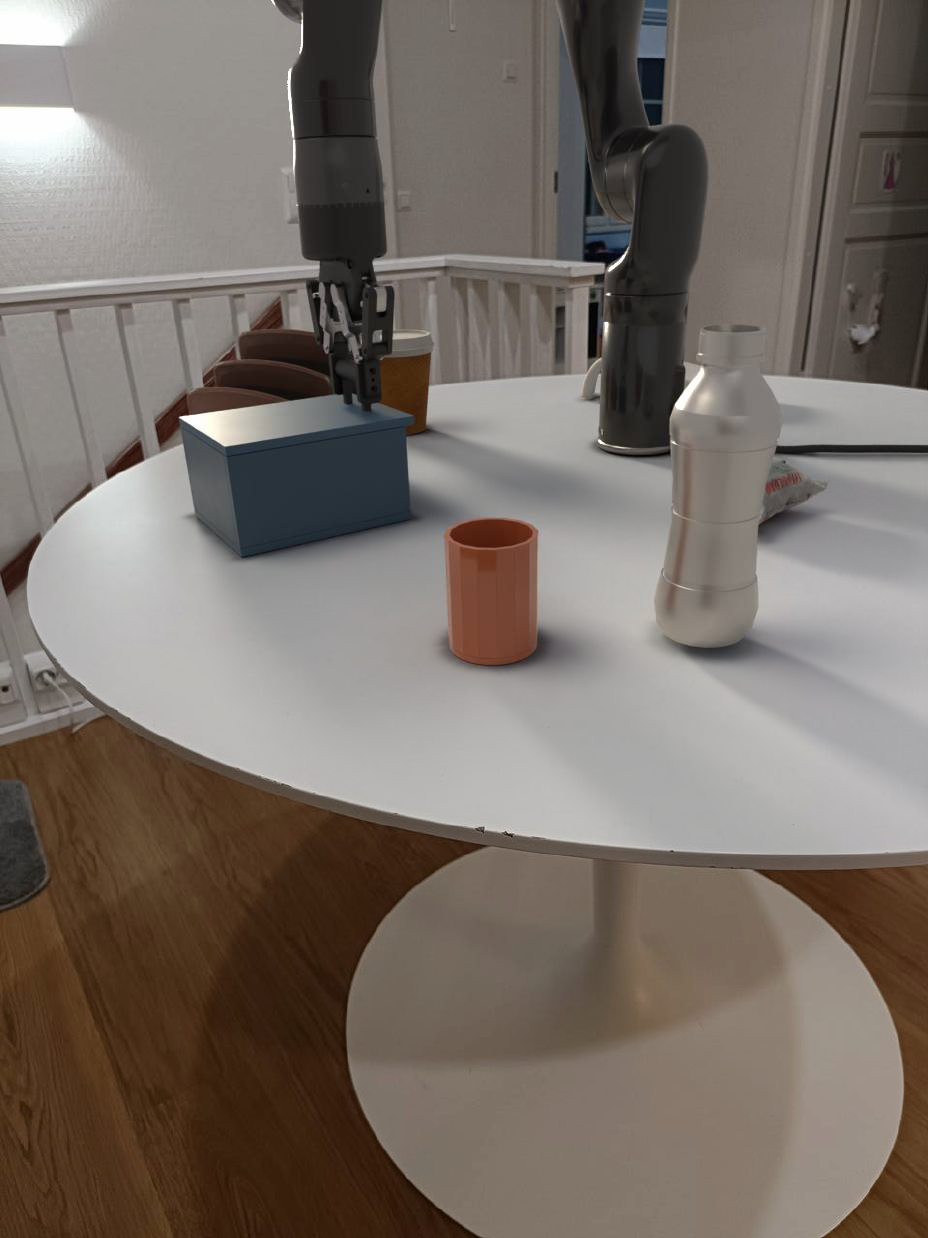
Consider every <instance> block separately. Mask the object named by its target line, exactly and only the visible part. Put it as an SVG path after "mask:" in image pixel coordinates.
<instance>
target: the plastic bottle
mask: <svg viewBox="0 0 928 1238" xmlns="http://www.w3.org/2000/svg"><path fill="white" fill-rule="evenodd" d="M698 339H699V340H698V351H696V356H695V361H696V362H698V363H700V366H701V368H700V372H699V373H698V374H697V375H696V376H695V378H694V379H693V380H692V381H691V382H690V384H689V385H688V386H687V387H686V389H685V390H684V391H683V393H682V394H681V396H680V397H679V399H678V400H677V402H676V403H675V406H674V408H673V411H672V414H671V416H670V436H671V437H670V448H671V452H670V462H671V475H672V476H671V477H672V478H671V479H672V480H671V481H672V482H671V503H672V506H671V508H670V509H671V512H670V513H671V514H670V526H669V532H668V537H667V543H666V548H665V549H666V551H665V554H664V560H663V567H662V569H661V570H660V574H659V576H658V580H657V584H656V589H655V593H654V597H653V606H654V614H655V620H656V623H657V625H658V627H659V628H660V630H661V632H662V634H664V635H665V637H667V638H669V639H670V640H672V641H674V642H676V643H677V644H679V643H680V644H682V645H685V646H689V647H695V648H706V649H711V648H713V649H714V648H715V649H716V648H723V647H728V646H732V645H734V644H737V643H738V642H740V641H741V640H742V639H743V638H744V637H745V636H746V635H747V634H748V633H749V632H750V631H751V630H752V628H753V626H754V625H753V624H754V623H755V619H756V616H757V613H758V611H759V582H758V575H757V561H758V558H757V557H758V537H759V525H760V524H759V519H760V514H761V512H760V508H761V506H762V503H763V498H764V492H765V487H766V482H767V478H768V475H769V471H770V468H771V464H772V461H773V459H774V457H775V455H776V453H775V450H776V447H777V445H778V443H779V441H778V440H779V438H780V435H781V432H782V427H783V417H782V411H781V405H780V403H779V401H778V400H777V397H776V396H775V394H774V392H773V390H772V388H771V387H770V384H768V381H766V379H765V377H764V376H763V375H762V372H761V367H760V364H763V363H765V362H766V360H767V352H766V341H767V328H766V327H765V326H762V325H753V324H740V323H739V324H737V323H735V324H733V323H732V324H730V323H729V324H727V323H726V324H725V323H724V324H711V325H706V326H702V327H700V331H699V338H698ZM758 524H759V525H758Z"/></svg>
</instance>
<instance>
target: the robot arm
mask: <svg viewBox="0 0 928 1238" xmlns="http://www.w3.org/2000/svg"><path fill="white" fill-rule="evenodd" d="M271 1H272V3H273V5H274V6H275V8H276V9H277V10H278V11H279V13H281V14H282V15H283V16H284V17H285V18H287V19H288V20H290V21H292V22H293V23H296V24H300V25H301V45H300V46H301V47H300V51H299V53H298V55H297V57H296V59H295V60H294V61H293V63H292V64H291V66H290V68H289V71H288V77H287V78H288V80H287V84H288V85H287V86H288V87H287V90H288V103H289V112H290V121H291V123H290V124H291V132H292V139H293V144H292V145H293V166H292V167H293V170H292V171H293V181H294V192H295V202H296V211H297V222H298V231H299V233H298V234H299V241H300V242H299V243H300V251H301V256H302V257H303V259H305V260H307V261H312V262H314V261H315V262H319V268H318V269H319V271H318V278H311V279H306V281H305V288H306V289H305V290H306V295H307V300H308V305H309V312H310V316H311V322H312V327H313V332H314V333H315V339H316V342H317V344H318V345H323V347H324V351H325V353H326V354H329V355H328V356H329V367H330V377H331V388H332V392H333V393H334V394H337V395H343V388H342V377H340V376H338V375H337V374H336V372H335V364H336V362H337V361H338V360H339V359H341V358H347V359H350V360H353V357H354V360H355V362H356V363H354V367H355V379H356V392H357V400H358V402H359V403H361V404H364V405H367V404H374V403H379V402H380V401H381V399H382V391H381V376H380V362H379V361H380V360H382V359H383V357H384V356H385V355H391V354H392V345H393V330H394V320H395V319H394V318H395V299H396V298H395V295H396V294H395V293H396V292H395V289H394V286H393V285H391V284H389V285H380V284H378V280H377V276H376V272H375V269H374V264H373V263H374V260H375V259H380V258H384V257H385V256H386V255H387V253H388V243H387V227H386V226H387V224H386V211H385V195H384V194H385V193H384V192H385V191H384V178H383V177H384V176H383V166H382V159H381V156H380V150H379V142H378V139H377V138H378V131H377V130H378V129H377V128H378V127H377V115H376V102H375V101H376V99H375V90H374V74H375V66H376V62H377V56H378V50H379V41H380V40H379V39H380V31H381V22H382V21H381V20H382V13H383V12H382V11H383V2H384V0H271ZM554 4H555V8H556V12H557V15H558V19H559V23H560V27H561V31H562V36H563V39H564V44H565V48H566V51H567V56H568V60H569V64H570V69H571V73H572V76H573V77H572V78H573V80H574V85H575V89H576V94H577V98H578V99H577V100H578V105H579V109H580V116H581V121H582V128H583V133H584V139H585V145H586V146H585V147H586V153H587V158H588V159H587V160H588V165H589V171H590V177H591V181H592V186H593V188H594V189H593V190H594V192H595V196H596V199H597V201H598V204H599V205H600V207H601V208H602V210H603V211H604V213H605V214H606V215H607V216H608V217H610V218H611V219H612V220H614V221H616V222H618V223H622V224H629V225H631V231H630V239H629V244H628V246H627V248H626V250H625V251H624V252H623V254H622V255H621V256H620V257H618V258H617V259H616V260H614V261H612V262H610V263H609V264H608V265H607V267H606V268H605V271H604V283H603V310H602V311H603V312H602V313H603V314H602V337H601V338H602V339H601V357H602V361H601V371H600V391H599V416H598V417H599V418H598V436H597V447H599V448H600V449H602V450H604V451H606V452H610V453H614V454H619V455H627V456H653V455H661V454H665V453H671V448H670V437H671V436H670V416H671V414H672V411H673V408H674V406H675V403H676V402H677V400H678V399H679V397H680V396H681V394H682V393H683V391H684V386H685V373H686V368H685V366H684V361H685V352H686V338H687V326H688V325H687V324H688V312H689V311H688V310H689V299H690V289H691V288H690V287H691V278H692V275H693V273H694V271H695V268H696V266H697V263H698V261H699V257H700V253H701V248H702V239H703V231H704V224H705V223H704V222H705V216H706V208H707V201H708V192H709V180H710V179H709V177H710V170H709V169H710V167H709V158H708V151H707V147H706V145H705V143H704V140H703V139H702V137H701V135H700V134H699V133H698V132H697V130H696V129H694V128H693V127H691V126H689V125H687V124H684V123H665V124H657V125H656V124H654V125H650V122H649V119H648V115H647V112H646V109H645V104H644V98H643V93H642V89H641V85H640V78H639V70H638V53H639V42H640V36H641V30H642V24H643V19H644V13H645V12H644V11H645V6H646V0H554ZM380 331H382V342H381V340H380V335H379V332H380ZM361 340H362V345H361ZM351 350H352V352H353V354H352V353H348V351H351ZM351 387H352V393H353V392H354V391H355V382H354V381H351ZM815 453H818V454H819V453H820V454H821V453H827V454H828V453H829V454H830V453H831V454H832V453H833V454H928V444H823V443H821V444H802V445H801V444H798V445H778V444H777V447H776V450H775V454H785V455H793V454H794V455H795V454H815Z"/></svg>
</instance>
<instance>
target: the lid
mask: <svg viewBox="0 0 928 1238" xmlns="http://www.w3.org/2000/svg"><path fill="white" fill-rule="evenodd" d="M354 363H356V362H355V361H353V360H350V359H347V358H341V359H339V360H338V361H337V362H336V364H335V372H336V374H337V375H338V376H340V377H342V388H343V395H337V394H336V395H329V396H322V397H315V398H308V399H301V400H294V401H287V402H280V403H273V404H266V405H259V406H252V407H245V408H238V409H231V410H225V411H218V412H211V413H204V414H197V415H190V416H189V415H183V416H179V417H178V420H179V426H182V427H183V428H185V429H186V430H188V431H189V432H191V433H192V434H194V435H195V436H197V437H198V438H200V439H201V440H203V441H204V442H206V443H207V444H209V445H210V446H212V447H213V448H215V449H216V450H218V451H219V452H221V453H222V454H224V455H225V456H231V455H237V454H243V453H249V452H254V451H260V450H266V449H272V448H278V447H284V446H290V445H296V444H302V443H308V442H314V441H319V440H325V439H331V438H337V437H343V436H349V435H355V434H361V433H367V432H373V431H379V430H385V429H390V428H396V427H402V426H408V425H414V416H413V415H410V414H407V413H405V412H402V411H399V410H396V409H394V408H391V407H388V406H385V405H383V404H380V403H374V404H367V405H364V404H361V403H359V402H358V400H357V395H355V394H352V387H351V381H354V382H356V379H355V367H354Z"/></svg>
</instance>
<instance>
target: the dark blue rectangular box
mask: <svg viewBox="0 0 928 1238" xmlns="http://www.w3.org/2000/svg"><path fill="white" fill-rule="evenodd" d="M179 426H180V425H179ZM179 428H180V433H181V439H182V446H183V452H184V457H185V462H186V469H187V474H188V480H189V488H190V493H191V499H192V504H193V508H194V516H195V517H196V518H197V519H198V520H200V521H201V522H202V523H203V524H204V525H205V526H206V527H208V529H210V530H211V531H212V532H213V533H214V534H215V535H216V536H217V537H219V539H221V540H222V541H223V542H224V543H225V544H226V545H227V546H228V547H229V548H231V550H233V551H234V552H235V553H236V554H237V555H238V556H239V557H241V558H244V557H249V556H253V555H258V554H263V553H266V552H272V551H275V550H280V549H284V548H289V547H294V546H298V545H301V544H303V545H304V544H307V543H311V542H316V541H320V540H324V539H329V538H333V537H337V536H342V535H346V534H350V533H355V532H360V531H364V530H369V529H373V528H377V527H382V526H386V525H390V524H394V523H395V524H396V523H399V522H404V521H408V520H411V519H412V514H411V511H412V510H411V509H412V508H411V494H410V493H411V492H410V478H409V477H410V476H409V462H408V461H409V460H408V459H409V458H408V443H407V435H406V427H405V426H402V427H396V428H390V429H385V430H379V431H373V432H367V433H361V434H355V435H349V436H343V437H337V438H331V439H325V440H319V441H314V442H308V443H302V444H296V445H290V446H284V447H278V448H272V449H266V450H260V451H254V452H249V453H243V454H237V455H231V456H225V455H224V454H222V453H221V452H219V451H218V450H216V449H215V448H213V447H212V446H210V445H209V444H207V443H206V442H204V441H203V440H201V439H200V438H198V437H197V436H195V435H194V434H192V433H191V432H189V431H188V430H186V429H185V428H183V427H182V426H180V427H179Z"/></svg>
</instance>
